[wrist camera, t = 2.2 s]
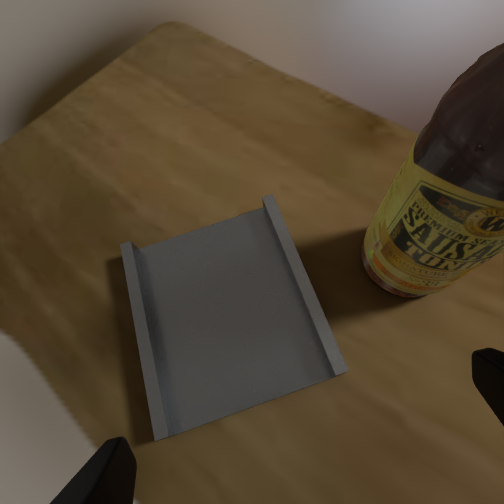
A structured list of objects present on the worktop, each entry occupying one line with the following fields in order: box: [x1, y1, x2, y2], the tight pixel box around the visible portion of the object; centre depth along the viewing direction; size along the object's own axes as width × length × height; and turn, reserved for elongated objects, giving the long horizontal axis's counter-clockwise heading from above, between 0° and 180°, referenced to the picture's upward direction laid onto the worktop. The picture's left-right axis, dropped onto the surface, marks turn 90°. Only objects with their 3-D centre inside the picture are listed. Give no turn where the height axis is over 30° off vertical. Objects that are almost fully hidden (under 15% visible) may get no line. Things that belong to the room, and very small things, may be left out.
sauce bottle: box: [361, 43, 504, 297], centre depth 15 cm, size 6×6×20 cm
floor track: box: [120, 194, 349, 441], centre depth 23 cm, size 13×12×2 cm
